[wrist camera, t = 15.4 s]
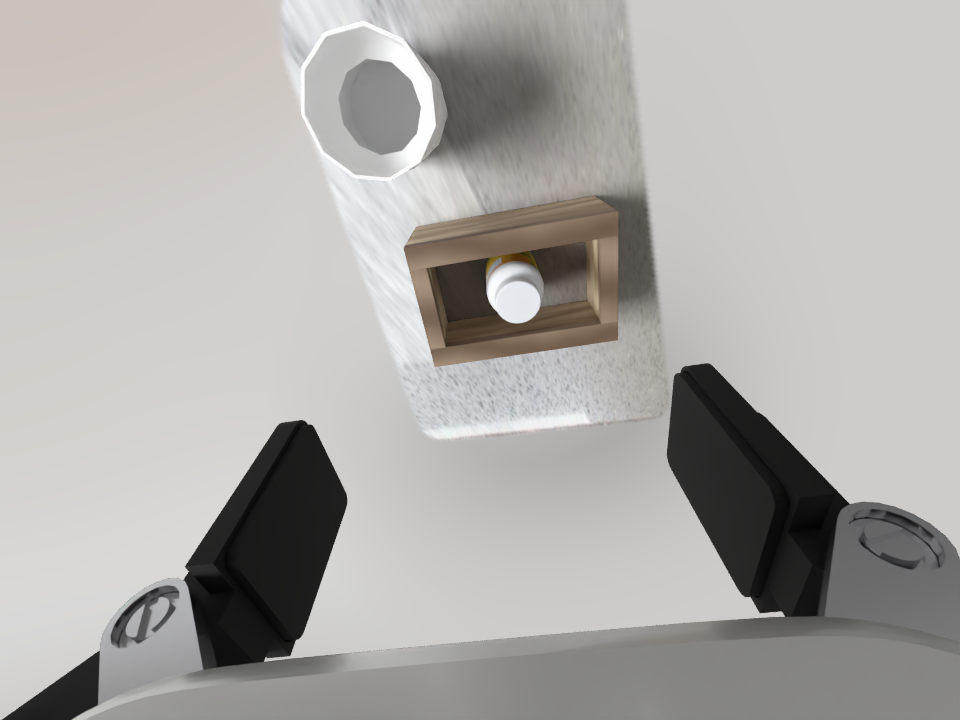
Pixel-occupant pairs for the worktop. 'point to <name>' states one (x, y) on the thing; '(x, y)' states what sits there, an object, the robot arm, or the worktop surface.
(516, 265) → the supplement bottle
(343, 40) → the vase
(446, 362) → the wooden box
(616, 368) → the worktop surface
